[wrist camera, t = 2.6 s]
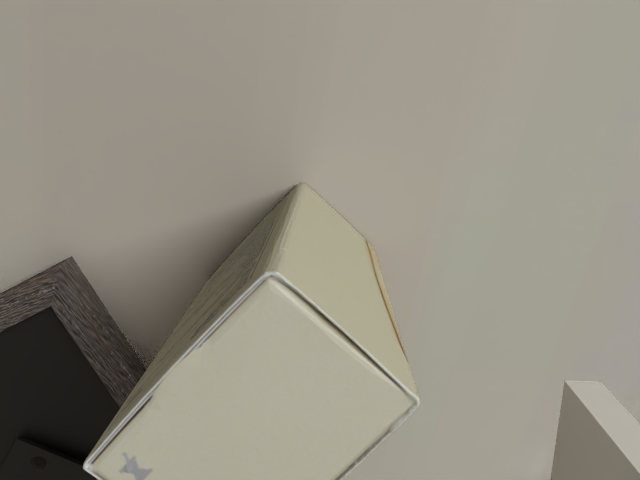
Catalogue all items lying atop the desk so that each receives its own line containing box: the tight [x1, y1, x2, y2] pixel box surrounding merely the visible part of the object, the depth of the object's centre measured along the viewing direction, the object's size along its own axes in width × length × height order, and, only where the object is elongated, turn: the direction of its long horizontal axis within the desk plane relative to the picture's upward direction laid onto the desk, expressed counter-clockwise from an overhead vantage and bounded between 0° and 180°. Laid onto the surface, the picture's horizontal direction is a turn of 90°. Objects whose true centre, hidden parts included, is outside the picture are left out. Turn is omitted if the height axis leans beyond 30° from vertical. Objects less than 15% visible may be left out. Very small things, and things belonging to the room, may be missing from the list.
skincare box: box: [83, 183, 420, 480], centre depth 17 cm, size 6×4×12 cm
